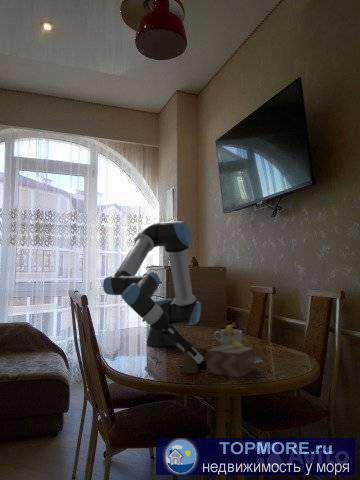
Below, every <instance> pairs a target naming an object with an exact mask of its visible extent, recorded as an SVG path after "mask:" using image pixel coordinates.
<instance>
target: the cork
mask: <svg viewBox="0 0 360 480" xmlns="http://www.w3.org/2000/svg"><path fill="white" fill-rule="evenodd" d="M187 341H188V342H189V343H190V344H191V345H192V347H193V348H194V349H195V350H197V342H196V341H194V340H187ZM187 346H188V345H187ZM187 346H186V347H187ZM183 349H184V348H183ZM184 351H185V349H184ZM181 368H182V369H181V372H183V373H185V374H186V373H187V374H194V373H198V372H199V369H198V363H197V362H196V361H195V360H194V359H193V358H192V357H191V356H190V355H189V354H188V353H187V352H186V353H185V352H183V358H182V367H181Z"/></svg>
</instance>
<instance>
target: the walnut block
mask: <svg viewBox="0 0 360 480" xmlns="http://www.w3.org/2000/svg"><path fill="white" fill-rule="evenodd" d="M254 361H255V349H254V347H249V346H245V347H242V346H233V345H224V344H221V345H217V346H214V347H212V348H208V349H206V372H207V373H209V374H215V375H222V376H225V377H234V378H241V377H244V376H245V375H247V374H249V373H251V372H253V371H254V370H255V363H254Z"/></svg>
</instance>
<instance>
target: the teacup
mask: <svg viewBox="0 0 360 480" xmlns="http://www.w3.org/2000/svg"><path fill="white" fill-rule="evenodd" d="M225 329H226V328H224V329H221V330H220V331H219V330H217V331H215V332H214V333H213V336H214V339H215V340H216V341H218V342H219V343H220V344H221V345H223V344H224V345H229V342H230V338H231V334H230V335H228V336H225V335H224V331H225ZM217 334H219V336H220V338H218V337H217ZM242 341H243V331H242V330H240V329H237V328H236V342H238V343H240V344H242Z"/></svg>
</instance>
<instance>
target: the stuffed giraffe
mask: <svg viewBox="0 0 360 480" xmlns="http://www.w3.org/2000/svg"><path fill="white" fill-rule="evenodd" d="M224 329H225V331H224V335H225V336H228V335H230V334H231V338H230V342H229V345H233V346H242V347H246V346H245V345H244V344H243V343H241V344H240V343H238V342H236V329H237V326H236V322H232V323H231V324H229V325H226V327H225V328H224ZM257 363H264V360H263V359H262V358H261V357H256V358H254V364H257Z"/></svg>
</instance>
